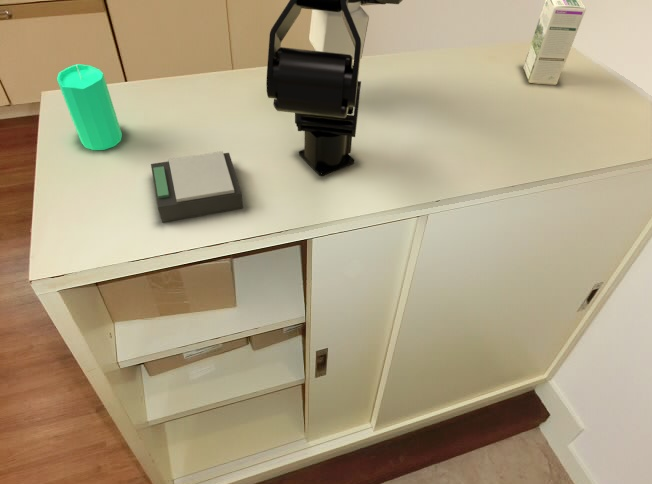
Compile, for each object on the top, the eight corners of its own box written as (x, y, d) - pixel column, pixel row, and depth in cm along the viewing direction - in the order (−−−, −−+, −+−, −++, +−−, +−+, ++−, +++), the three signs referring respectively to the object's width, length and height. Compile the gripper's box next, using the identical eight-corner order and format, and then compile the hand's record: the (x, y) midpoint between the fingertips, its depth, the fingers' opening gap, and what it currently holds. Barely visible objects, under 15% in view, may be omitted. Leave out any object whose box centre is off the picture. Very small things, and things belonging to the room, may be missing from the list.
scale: (161, 222, 71) (156, 203, 68) (154, 179, 76) (149, 160, 74) (243, 208, 74) (241, 190, 71) (230, 167, 79) (228, 148, 76)
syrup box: (557, 85, 101) (589, 7, 90) (527, 83, 101) (555, 5, 89) (550, 69, 104) (580, -7, 93) (521, 67, 104) (547, -9, 93)
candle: (78, 130, 82) (51, 57, 73) (119, 124, 84) (96, 51, 75) (83, 153, 79) (54, 80, 70) (125, 146, 81) (102, 73, 71)
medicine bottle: (361, 60, 87) (376, -18, 78) (320, 60, 85) (331, -20, 76) (347, 40, 91) (359, -35, 83) (308, 40, 89) (316, -38, 80)
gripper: (417, -113, 68) (399, -48, 84) (271, -125, 67) (281, -57, 83) (411, -23, 69) (395, 24, 84) (267, -35, 68) (278, 16, 83)
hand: (338, 0), depth 84 cm, fingers closed on medicine bottle, 7 cm apart
